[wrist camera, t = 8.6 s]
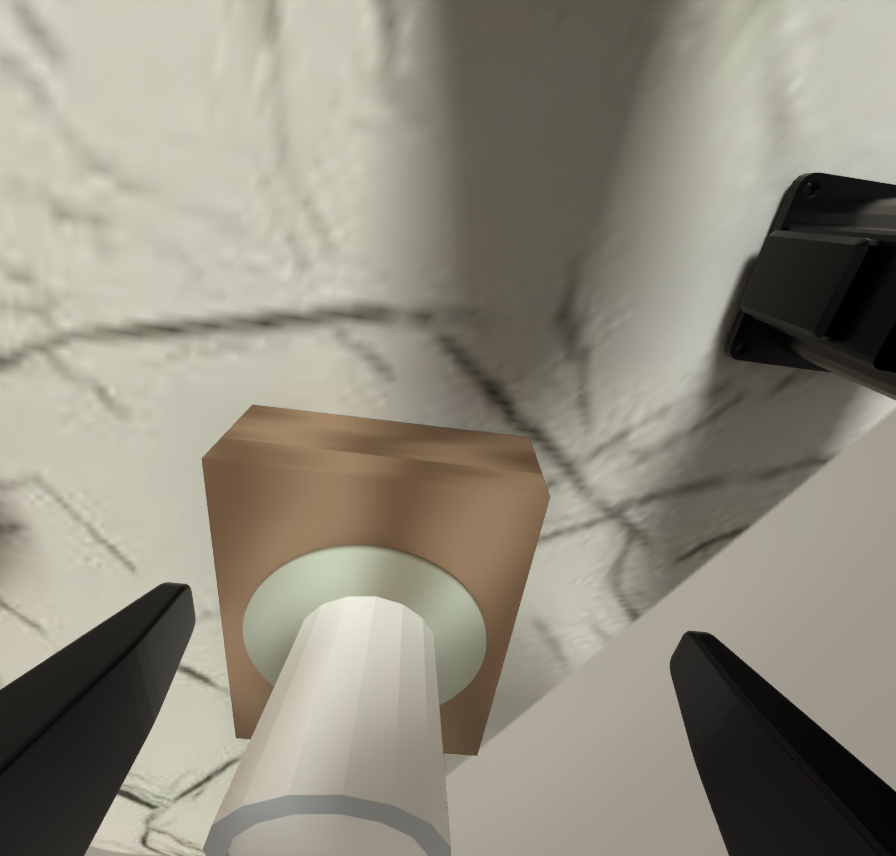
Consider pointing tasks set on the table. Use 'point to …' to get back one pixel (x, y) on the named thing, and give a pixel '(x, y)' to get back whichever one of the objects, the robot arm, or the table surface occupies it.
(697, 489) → the table surface
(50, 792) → the robot arm
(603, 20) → the table surface
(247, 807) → the white cup
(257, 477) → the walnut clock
